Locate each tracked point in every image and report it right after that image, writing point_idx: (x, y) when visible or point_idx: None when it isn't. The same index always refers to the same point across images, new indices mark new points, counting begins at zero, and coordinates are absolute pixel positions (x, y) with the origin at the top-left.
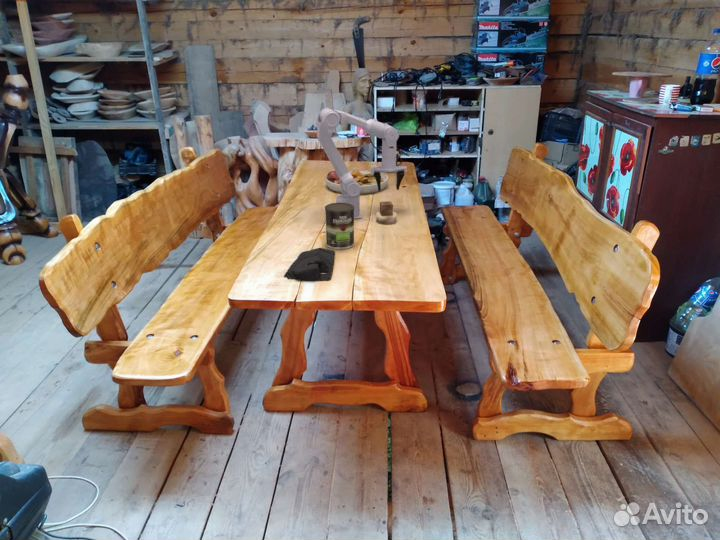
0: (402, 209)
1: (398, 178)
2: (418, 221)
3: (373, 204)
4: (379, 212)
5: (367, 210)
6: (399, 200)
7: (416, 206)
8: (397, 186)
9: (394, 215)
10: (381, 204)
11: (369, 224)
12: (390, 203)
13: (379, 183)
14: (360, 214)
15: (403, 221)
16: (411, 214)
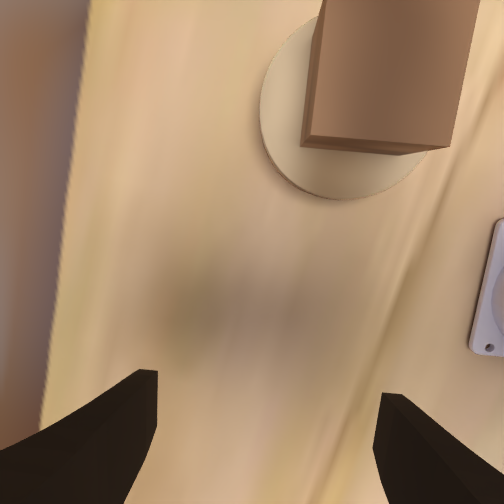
0: (155, 339)
1: (49, 491)
2: (104, 59)
3: (313, 475)
4: (399, 157)
5: (390, 378)
6: (132, 501)
7: (52, 371)
8: (139, 400)
9: (295, 36)
10: (471, 23)
11: (486, 76)
12: (344, 41)
13: (464, 462)
14: (485, 286)
15: (213, 85)
16: (119, 225)
